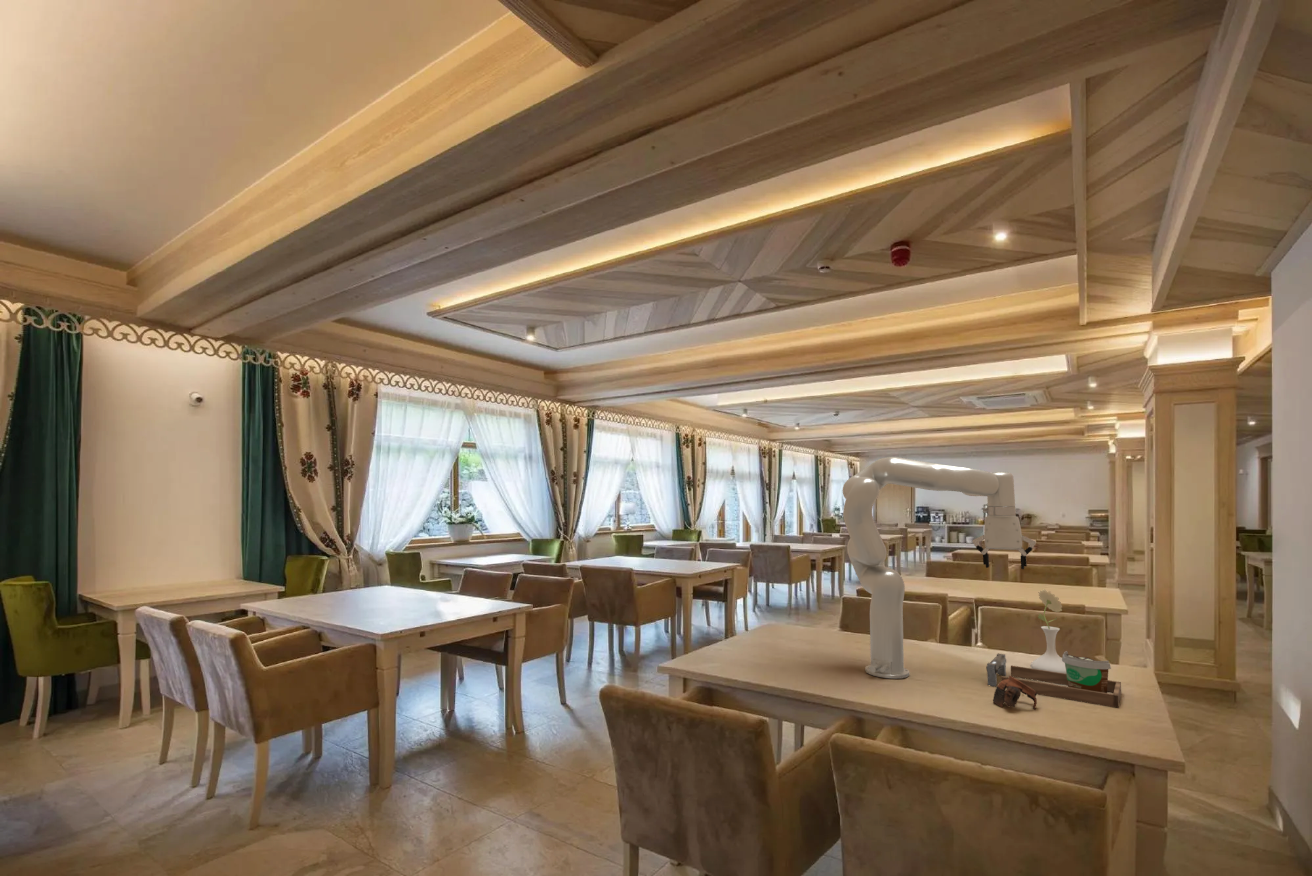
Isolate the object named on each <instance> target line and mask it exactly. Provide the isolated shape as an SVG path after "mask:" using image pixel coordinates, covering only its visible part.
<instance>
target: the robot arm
mask: <svg viewBox="0 0 1312 876" xmlns="http://www.w3.org/2000/svg"><path fill="white" fill-rule="evenodd" d="M1014 483H1015V480H1014V476H1013V474H1012V473H1011V472H1008V471H1007V472H1006V471H1005V472H1004V471H1003V472H1001V471H1000V472H990V471H987V470H982V469H975V468H969V467H964V466H963V467H961V466H954V465H947V464H943V463H935V462H929V461H923V460H917V459H910V458H905V457H899V456H888V457H882V458H879V459H877V460H875V461H874V462H872V463H871V464H869V465H868V466H866V467H864V468H863V469H862V470H860V471H859V472H857V473H856V474H854V475H853V476H851V477H849V478H848V479H847V480H845V482H844V484H843V486H842V495H843V497H844V499H845V502H844V505H843V510H842V513H843V514H842V515H843V521H844V524H845V526H846V527H845V528H846V530H847V533H848V535H849V540H848V541H847V546H846V550H847V555H848V558H849V561H850V563H851V565H852V567H853V570H854V572H855V574H856V576H857V579H858V582H860V585H861V586H862V588H863V589H864V590H865V591H866V592H867V593H869V594H870V595H871V596H870V597H871V598H870V605H869V635H870V637H869V639H870V641H869V642H870V643H869V645H870V646H869V647H870V649H869V650H870V664H868V665H866V666H865V667H864V668H865V670H864V671H865V673H867V674H869V675H870V676H874V677H878V678H884V679H897V680H898V679H905V678H908V677H909V676H910V674H911V673H910V670H909V669H907V668H905V667H904V666H905V663H904V661H905V660H904V619H903V618H904V613H903V612H904V611H903V608H904V607H903V606H904V597H905V589H906V587H905V581H904V579H903V577H902V576H901V574H900V572H898V571H897V570H895V569H894V568H891V567H888V566H886V565H885V563H884V562H885V561H886V558H887V555H888V552H887V547H886V545H885V543H884V540H883V538H882V536H881V533H880V532H879V529H878V527H877V524H876V522H875V520H874V516H873V507H874V504H875V502H876V500H877V499H878V497H879V495H880V490H881V489H883V488H885V487H886V486H887V485H895V486H896V485H897V486H903V487H909V488H915V489H922V490H926V491H935V492H939V491H940V492H943V491H944V492H945V491H947V492H958V493H962V494H963V495H965V496H969V497H987V498H986V499H987V507H985V508H984V507H983V508H982V513H985V514H987V516H985V519H984V528H983V529H984V534H982V535H981V536H979V537H976V538H974V539H972V543H973V545H974V547H975V548H976V550H977V551H979V552H980V553H981V555H982V560H983V561H982V562H983V565H984V566H985V568H986V569H987V568H990V557H989V553H988V552H989V551H990V550H1008V551H1009V550H1012V551H1013V550H1016V551H1018V552H1019V553H1020V554H1021V555H1020V568H1021V569H1020V570H1025V567H1027V564H1028V563H1027V555H1029V553H1031V552H1032V551H1033V549H1034V547H1035V546H1036V544H1037V541H1035V540H1034V539H1032V538H1029V537H1027V536H1024V535H1023V533H1022V527H1021V523H1020V518H1019V516H1016V515H1017V514H1016V498H1015V496H1016V495H1015V484H1014ZM983 540H984V547H982V546H981V545H980V543H979V542H981V541H983ZM1023 542H1026V543H1028V544H1029V545H1028V547H1027V548H1026V549H1024V548H1023Z"/></svg>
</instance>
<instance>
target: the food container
mask: <svg viewBox="0 0 1312 876" xmlns="http://www.w3.org/2000/svg"><path fill="white" fill-rule="evenodd" d="M1061 658H1062V661H1063V662H1064V663H1065V668H1066V675H1067V682H1068V685H1067V687H1072V688H1078V689H1084V690H1090V691H1096V692H1103V693H1108V692H1107V685H1108V680H1109V670H1112V667H1111V663H1110V661H1109V660H1094V659H1092V658H1090V657H1084V656H1075V655H1072V654H1069V652H1068V651H1067V650H1065V651H1064V652H1063V654H1062V657H1061Z"/></svg>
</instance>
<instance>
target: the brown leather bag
mask: <svg viewBox="0 0 1312 876" xmlns="http://www.w3.org/2000/svg"><path fill="white" fill-rule="evenodd" d="M1008 677H1009V678H1008V679H1006V680H1003V681H1001V680H1000V681H999V683H997V686H996V687H995V691H994V694H993V699H992V701H993V704H996V705H997V706H998V707H1000V708H1003V707H1004V704H1005V706H1007V707H1010V708H1015V707H1016V705H1017V702H1018V700H1019V699H1020V697H1021V695H1022V694H1023V695H1026V697H1027V698H1029V699H1031V700H1032V701H1033V706H1032V709H1033V710H1035V709H1036V708H1037V704H1038V702H1037V700H1038V699H1037V695H1039V694H1038V693H1037V692H1036V691H1035V690H1034V689H1032V688H1030V687H1029V686H1027V685H1025V684H1024V683H1022V682H1020V681H1019V680H1017V679H1018V678H1017V677H1012V676H1011V675H1009V676H1008ZM1006 687H1007V689H1006ZM1021 693H1022V694H1021Z"/></svg>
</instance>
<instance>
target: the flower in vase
mask: <svg viewBox="0 0 1312 876" xmlns="http://www.w3.org/2000/svg"><path fill="white" fill-rule="evenodd" d="M1038 596H1039V600H1040V601H1041V602H1042V604H1044V610H1043V614H1041V613H1038V616H1037V619H1039V620H1042V621H1043V622H1045V623H1046V626H1045V625H1043V626H1040V628H1041V629H1042V631H1043V633H1044V636H1045V641H1046V650H1045V652H1044V653H1043V654H1041V655H1040V656H1038V657H1037V658H1035V659H1034V660H1033V661H1031V663H1030V665H1029V666H1030V667H1031V668H1032V669H1038V670H1045V671H1052V672H1058V673H1065V674H1066V668H1065V663H1064V662H1063V661H1062V657H1061V656H1060V655H1059V654H1058V653H1057V650H1056V649H1057V648H1056V637H1057V634H1058V632H1059V631H1060V630H1061V629H1060V628H1059V627H1057V626H1050V625H1049V623H1051V622H1053V621H1056V620H1057V619H1058V617H1057V616H1056V617H1055V618H1054V619H1052V620H1049V621H1048V620H1047V619H1046V610H1047V609H1048V610H1051V611H1052V612H1055V613H1060V612H1062V611H1063V609H1062V608H1063V605H1062V603H1061V601H1060V600H1059V597H1058V596H1056V595H1055V594H1054V593H1052V591H1050V590H1046V589H1042V590H1039V591H1038Z"/></svg>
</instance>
